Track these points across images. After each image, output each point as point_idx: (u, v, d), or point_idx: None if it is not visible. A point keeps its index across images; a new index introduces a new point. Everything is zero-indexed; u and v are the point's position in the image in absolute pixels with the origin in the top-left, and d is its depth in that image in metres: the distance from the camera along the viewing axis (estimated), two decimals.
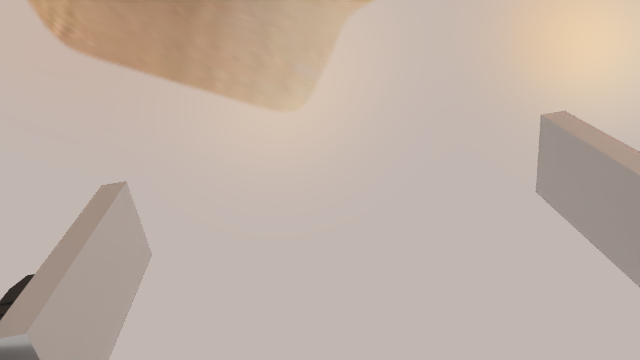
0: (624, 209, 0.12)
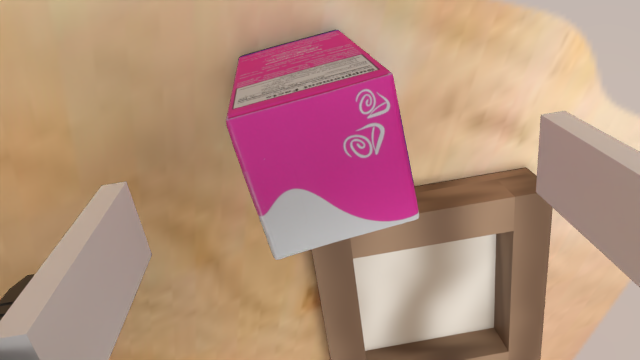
0: (624, 209, 0.12)
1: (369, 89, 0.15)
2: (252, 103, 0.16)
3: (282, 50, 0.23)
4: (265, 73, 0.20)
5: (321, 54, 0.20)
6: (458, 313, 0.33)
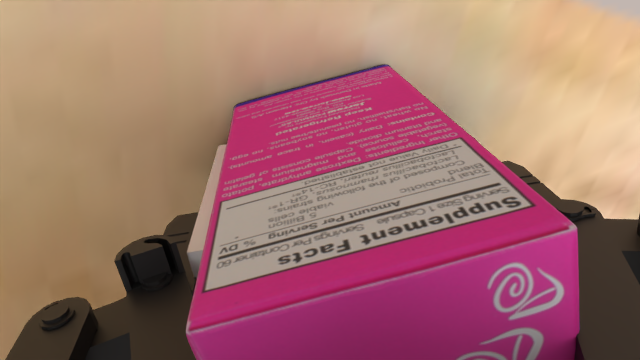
0: None
1: (522, 264, 0.07)
2: (247, 278, 0.07)
3: (302, 101, 0.15)
4: (275, 162, 0.11)
5: (375, 124, 0.11)
6: None
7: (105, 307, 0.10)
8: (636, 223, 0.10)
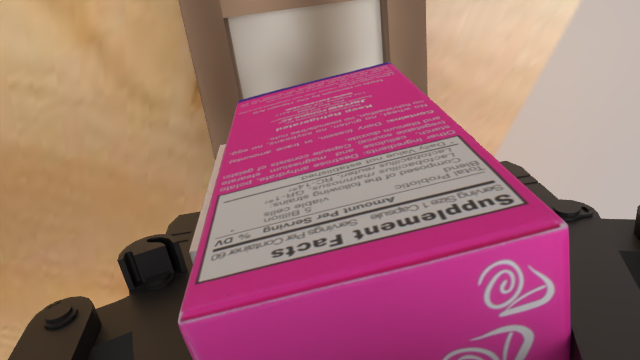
0: None
1: (512, 261, 0.07)
2: (241, 270, 0.07)
3: (304, 98, 0.15)
4: (274, 157, 0.11)
5: (374, 121, 0.11)
6: None
7: (108, 306, 0.10)
8: (633, 223, 0.10)
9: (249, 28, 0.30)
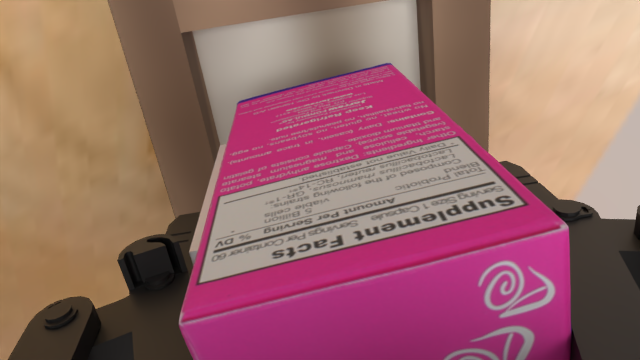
0: None
1: (512, 263, 0.07)
2: (241, 271, 0.07)
3: (304, 98, 0.15)
4: (275, 158, 0.11)
5: (374, 122, 0.11)
6: None
7: (108, 306, 0.10)
8: (633, 223, 0.10)
9: (225, 45, 0.20)
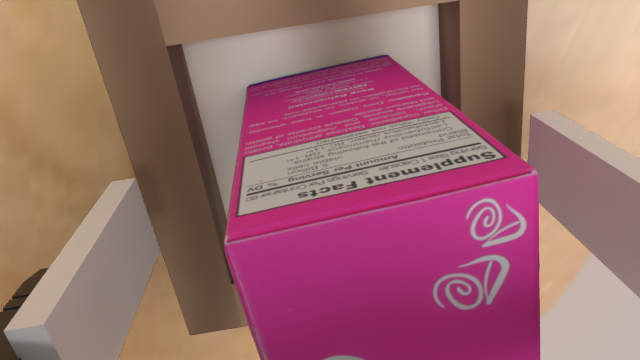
0: (609, 207, 0.12)
1: (493, 199, 0.08)
2: (273, 207, 0.09)
3: (311, 83, 0.16)
4: (290, 128, 0.12)
5: (377, 101, 0.13)
6: None
7: None
8: None
9: (219, 58, 0.18)
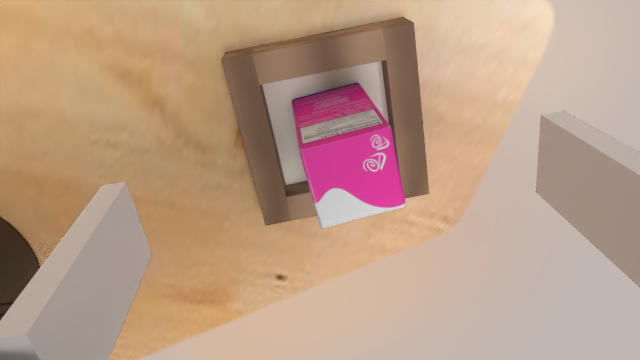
0: (624, 209, 0.12)
1: (377, 135, 0.28)
2: (313, 140, 0.29)
3: (322, 98, 0.36)
4: (315, 118, 0.32)
5: (349, 106, 0.33)
6: None
7: None
8: None
9: (279, 87, 0.38)
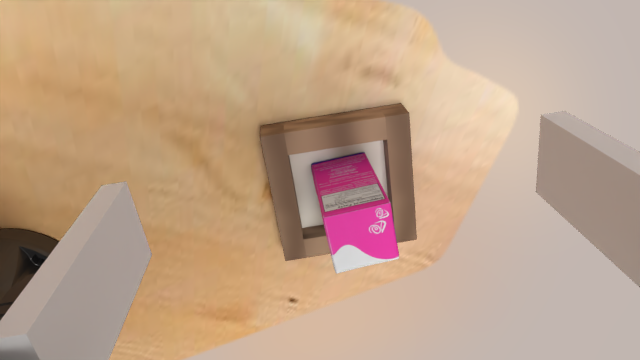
0: (624, 209, 0.12)
1: (380, 208, 0.38)
2: (332, 209, 0.39)
3: (336, 166, 0.46)
4: (332, 186, 0.43)
5: (358, 177, 0.43)
6: None
7: None
8: None
9: (301, 154, 0.48)
